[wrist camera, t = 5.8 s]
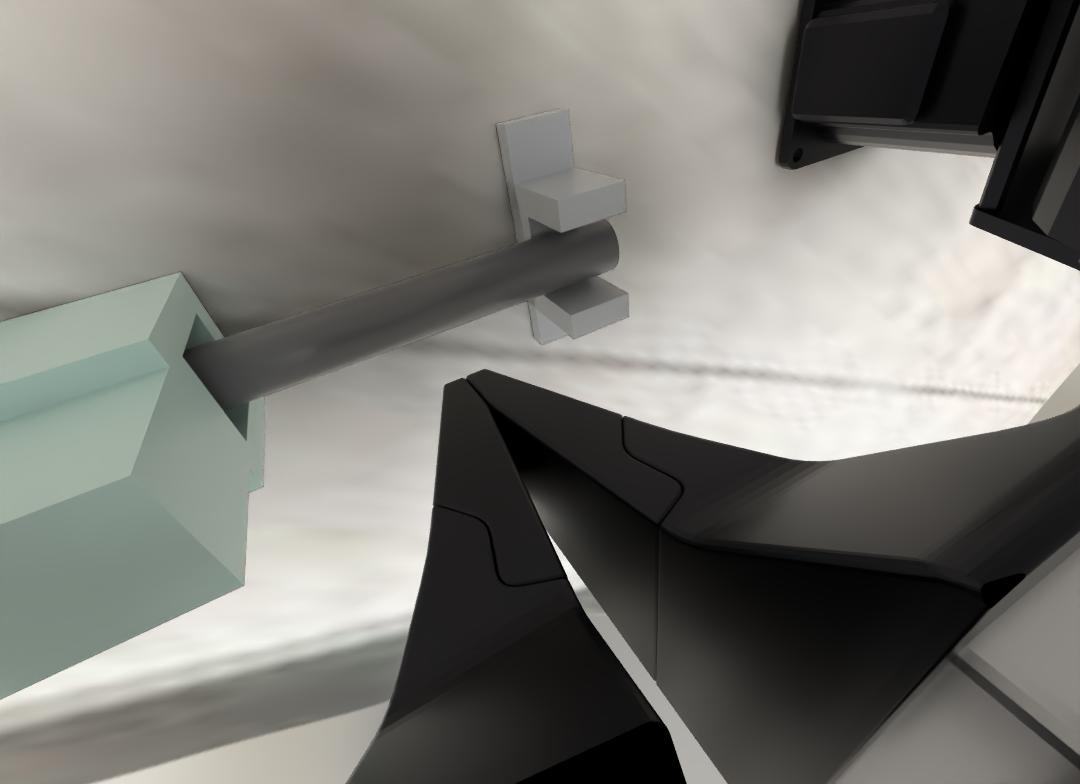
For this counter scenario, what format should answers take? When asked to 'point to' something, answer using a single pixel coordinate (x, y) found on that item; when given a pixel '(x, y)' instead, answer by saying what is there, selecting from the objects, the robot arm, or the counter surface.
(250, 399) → the grey angular piece
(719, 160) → the counter surface
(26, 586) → the mint stepped block
